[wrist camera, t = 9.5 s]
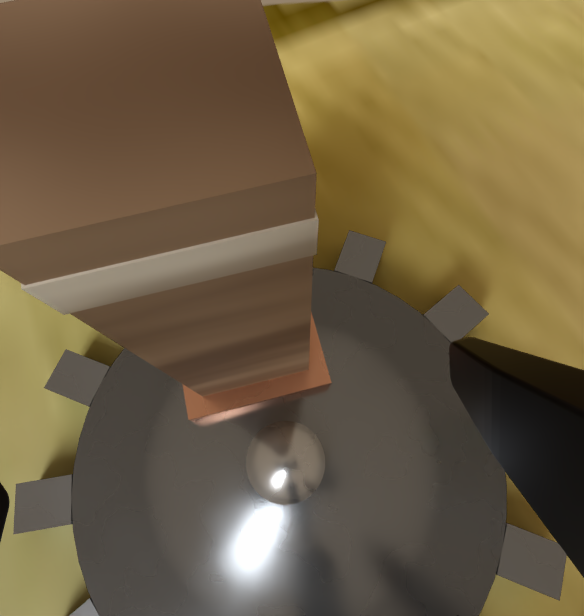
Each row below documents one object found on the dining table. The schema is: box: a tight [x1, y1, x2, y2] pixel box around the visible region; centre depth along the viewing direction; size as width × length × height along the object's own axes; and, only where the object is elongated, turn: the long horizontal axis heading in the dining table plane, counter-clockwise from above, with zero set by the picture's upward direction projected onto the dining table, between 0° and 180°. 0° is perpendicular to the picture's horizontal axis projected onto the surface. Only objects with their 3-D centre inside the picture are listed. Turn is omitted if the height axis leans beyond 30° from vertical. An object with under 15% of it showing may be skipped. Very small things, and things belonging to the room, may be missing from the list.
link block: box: [0, 0, 319, 397], centre depth 12 cm, size 5×5×13 cm
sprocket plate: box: [14, 230, 567, 616], centre depth 17 cm, size 21×21×2 cm
